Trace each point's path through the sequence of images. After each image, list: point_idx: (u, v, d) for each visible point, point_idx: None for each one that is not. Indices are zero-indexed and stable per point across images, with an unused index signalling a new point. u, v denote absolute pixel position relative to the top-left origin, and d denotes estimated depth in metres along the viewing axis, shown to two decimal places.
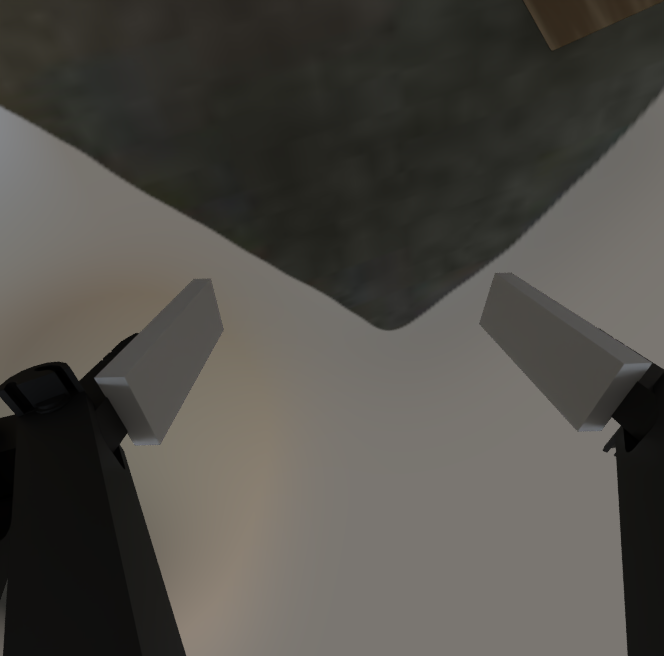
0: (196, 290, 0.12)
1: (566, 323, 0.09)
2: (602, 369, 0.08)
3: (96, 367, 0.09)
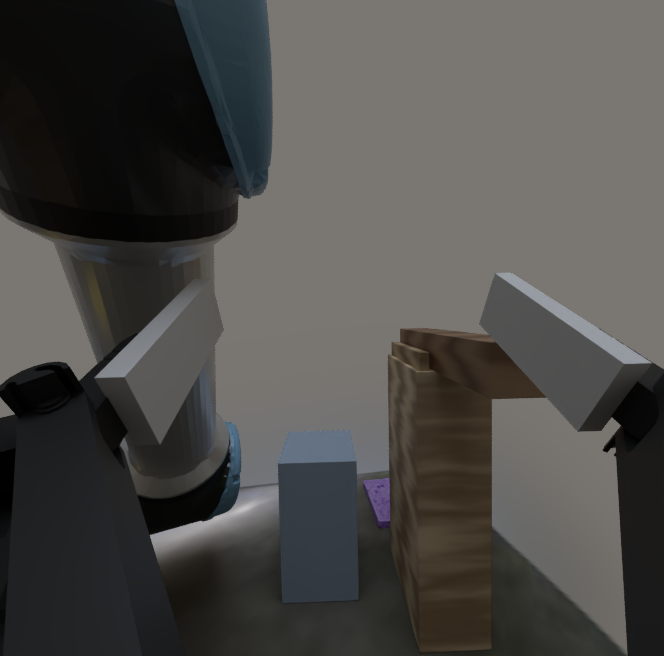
0: (196, 290, 0.12)
1: (566, 323, 0.09)
2: (602, 369, 0.08)
3: (96, 367, 0.09)
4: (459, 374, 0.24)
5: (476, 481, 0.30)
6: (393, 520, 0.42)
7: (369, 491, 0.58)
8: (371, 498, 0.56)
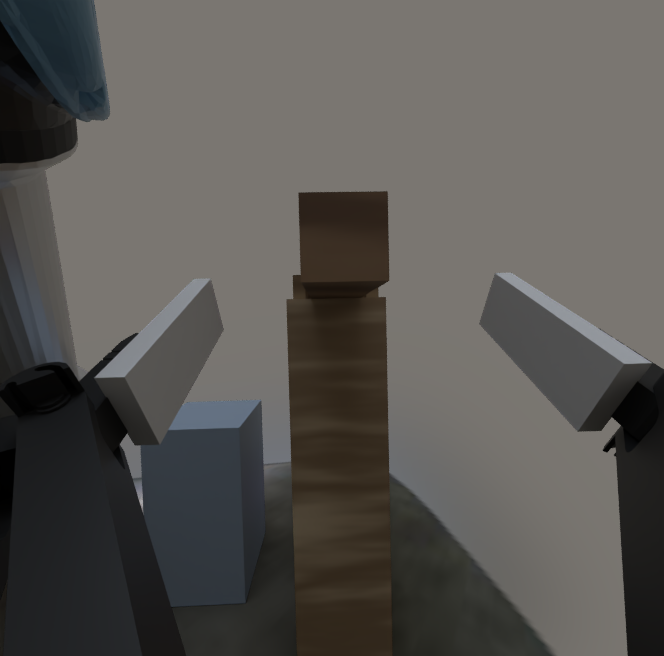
0: (196, 290, 0.12)
1: (566, 323, 0.09)
2: (602, 369, 0.08)
3: (96, 367, 0.09)
4: None
5: (368, 443, 0.23)
6: None
7: None
8: None
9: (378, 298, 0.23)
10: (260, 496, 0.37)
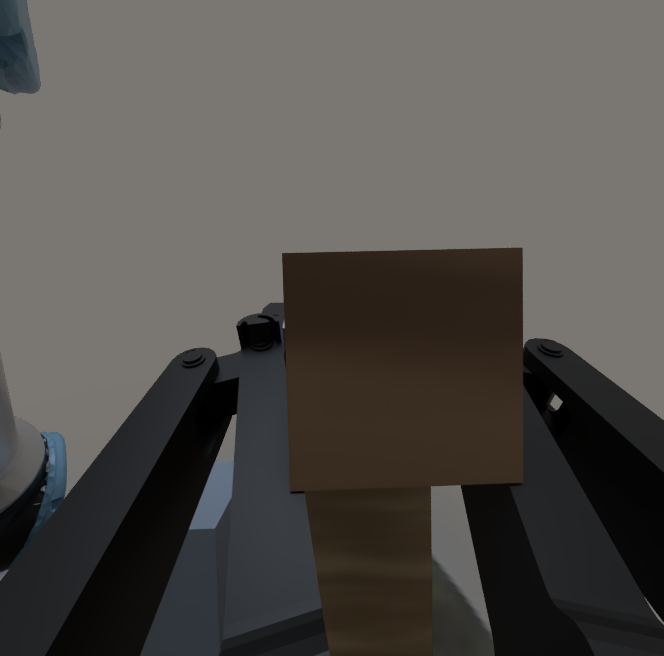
0: None
1: None
2: None
3: None
4: None
5: (401, 592, 0.15)
6: None
7: None
8: None
9: None
10: None
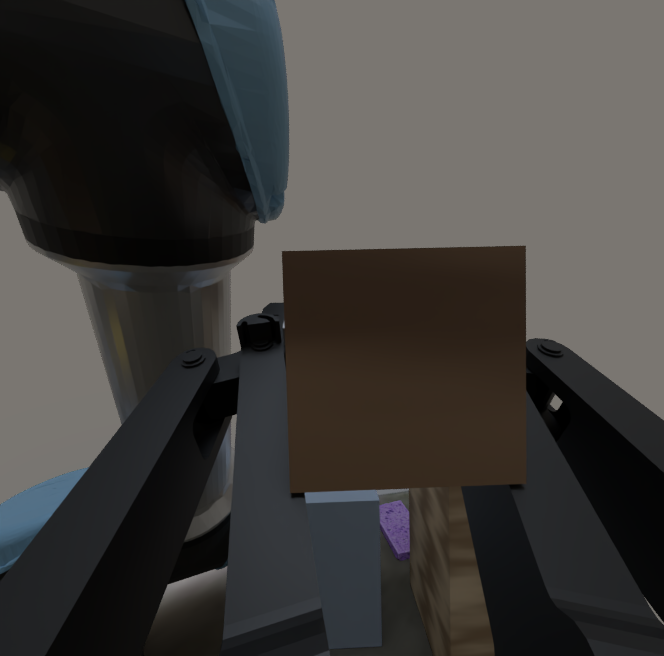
0: None
1: None
2: None
3: None
4: None
5: None
6: (414, 556, 0.41)
7: None
8: (383, 526, 0.54)
9: None
10: None
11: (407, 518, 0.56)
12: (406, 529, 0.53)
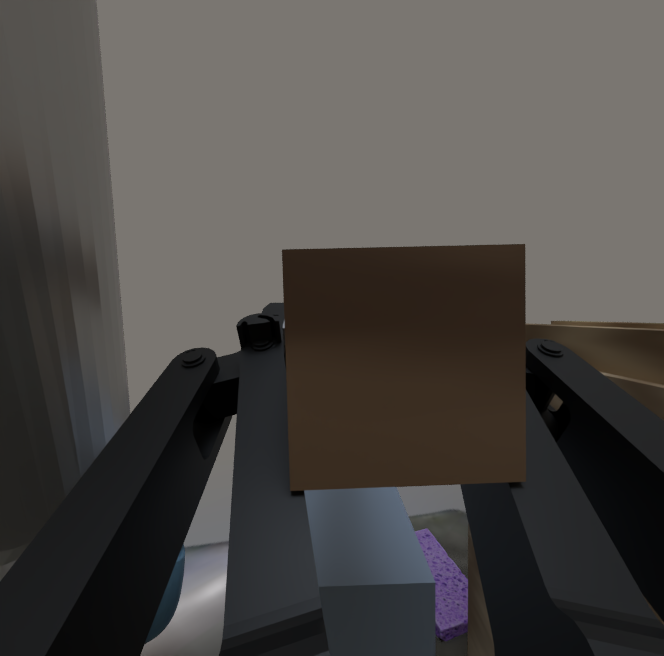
0: None
1: None
2: None
3: None
4: None
5: None
6: None
7: None
8: None
9: None
10: None
11: (443, 559, 0.37)
12: (445, 580, 0.35)
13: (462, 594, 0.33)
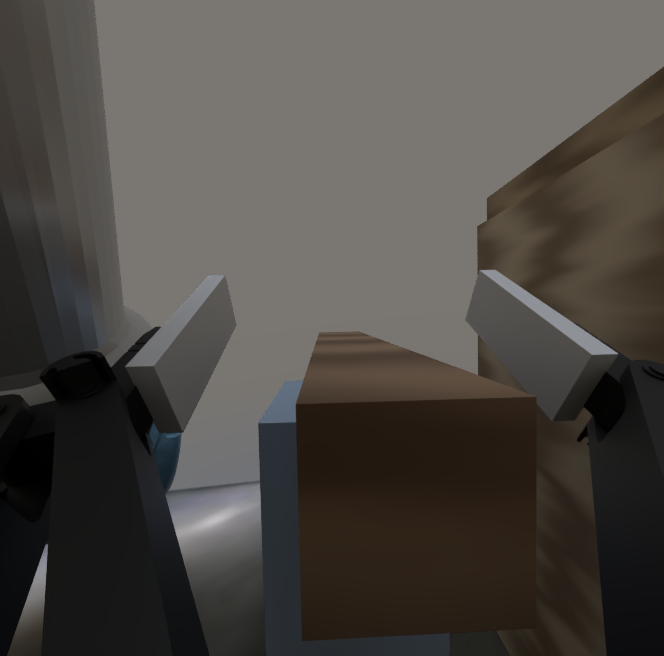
0: (212, 285, 0.12)
1: (542, 317, 0.09)
2: (573, 360, 0.08)
3: (122, 358, 0.09)
4: None
5: None
6: None
7: None
8: None
9: None
10: None
11: None
12: None
13: None
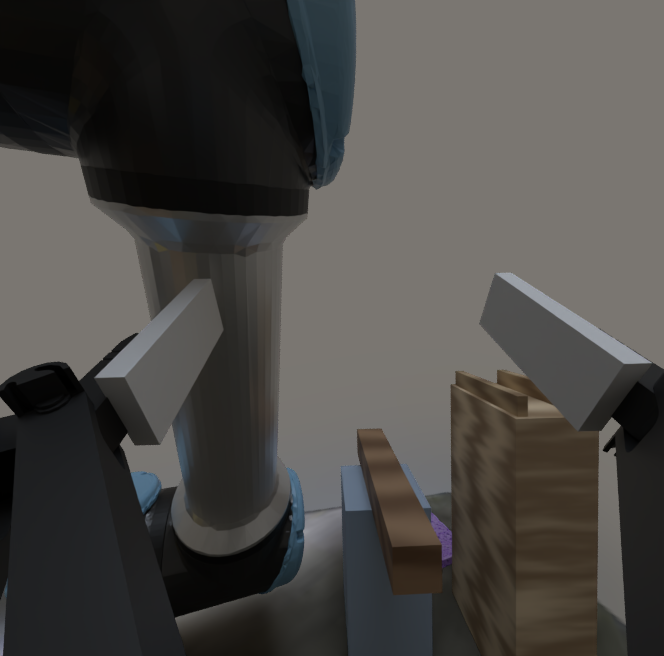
0: (196, 290, 0.12)
1: (566, 323, 0.09)
2: (602, 369, 0.08)
3: (96, 367, 0.09)
4: (381, 541, 0.27)
5: (580, 539, 0.27)
6: (459, 564, 0.39)
7: None
8: None
9: None
10: None
11: (435, 522, 0.54)
12: (438, 534, 0.51)
13: (450, 541, 0.50)
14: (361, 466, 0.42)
